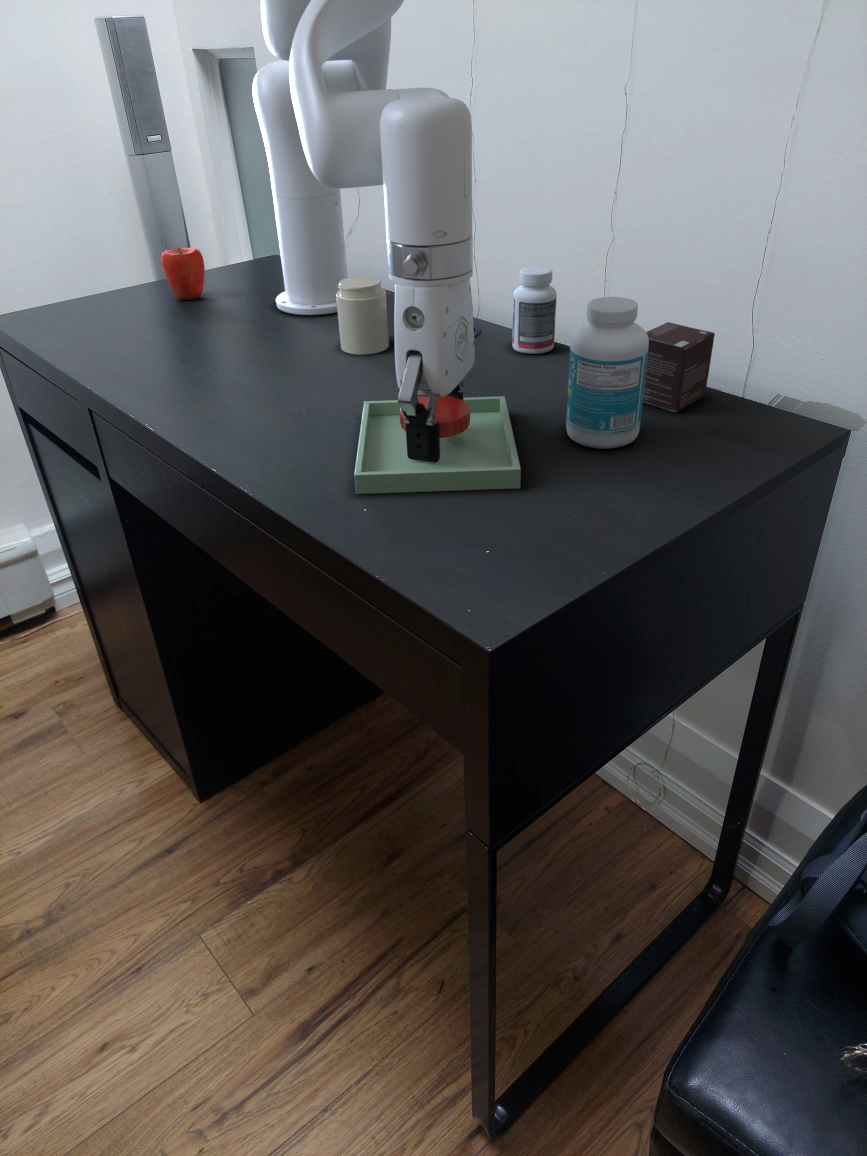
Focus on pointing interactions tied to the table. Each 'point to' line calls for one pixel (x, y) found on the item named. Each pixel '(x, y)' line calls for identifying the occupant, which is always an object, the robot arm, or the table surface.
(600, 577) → the table surface
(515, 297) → the pill bottle
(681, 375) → the box
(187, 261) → the apple
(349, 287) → the jar
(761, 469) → the table surface
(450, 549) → the table surface
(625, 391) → the pill bottle
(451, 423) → the cap
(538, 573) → the table surface
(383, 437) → the tray
